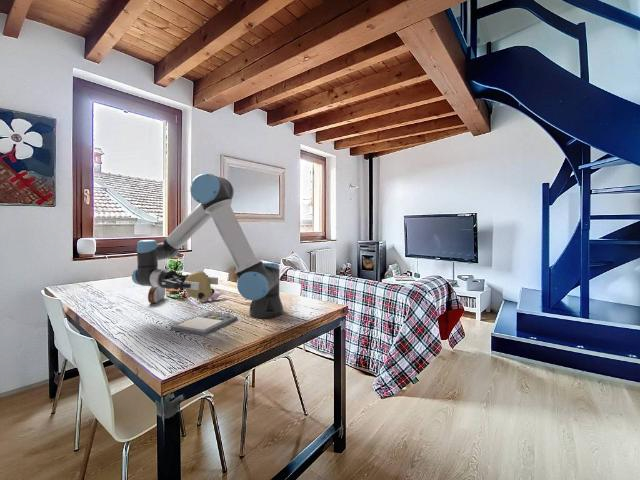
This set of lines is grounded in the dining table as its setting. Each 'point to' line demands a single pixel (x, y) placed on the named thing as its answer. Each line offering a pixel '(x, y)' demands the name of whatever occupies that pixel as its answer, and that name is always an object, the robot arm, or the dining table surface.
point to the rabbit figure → (212, 297)
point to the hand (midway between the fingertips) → (208, 283)
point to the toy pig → (200, 286)
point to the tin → (156, 294)
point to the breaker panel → (205, 322)
